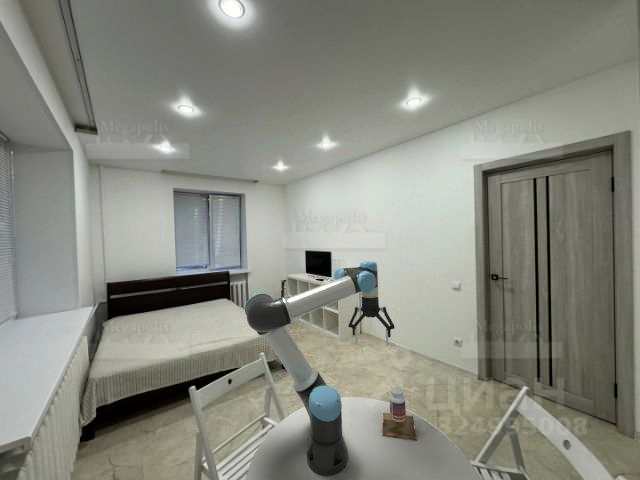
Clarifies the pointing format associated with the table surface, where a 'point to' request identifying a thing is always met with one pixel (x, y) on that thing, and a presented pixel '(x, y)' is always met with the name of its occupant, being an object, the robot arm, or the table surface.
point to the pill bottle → (397, 405)
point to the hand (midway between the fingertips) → (371, 343)
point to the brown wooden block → (398, 428)
